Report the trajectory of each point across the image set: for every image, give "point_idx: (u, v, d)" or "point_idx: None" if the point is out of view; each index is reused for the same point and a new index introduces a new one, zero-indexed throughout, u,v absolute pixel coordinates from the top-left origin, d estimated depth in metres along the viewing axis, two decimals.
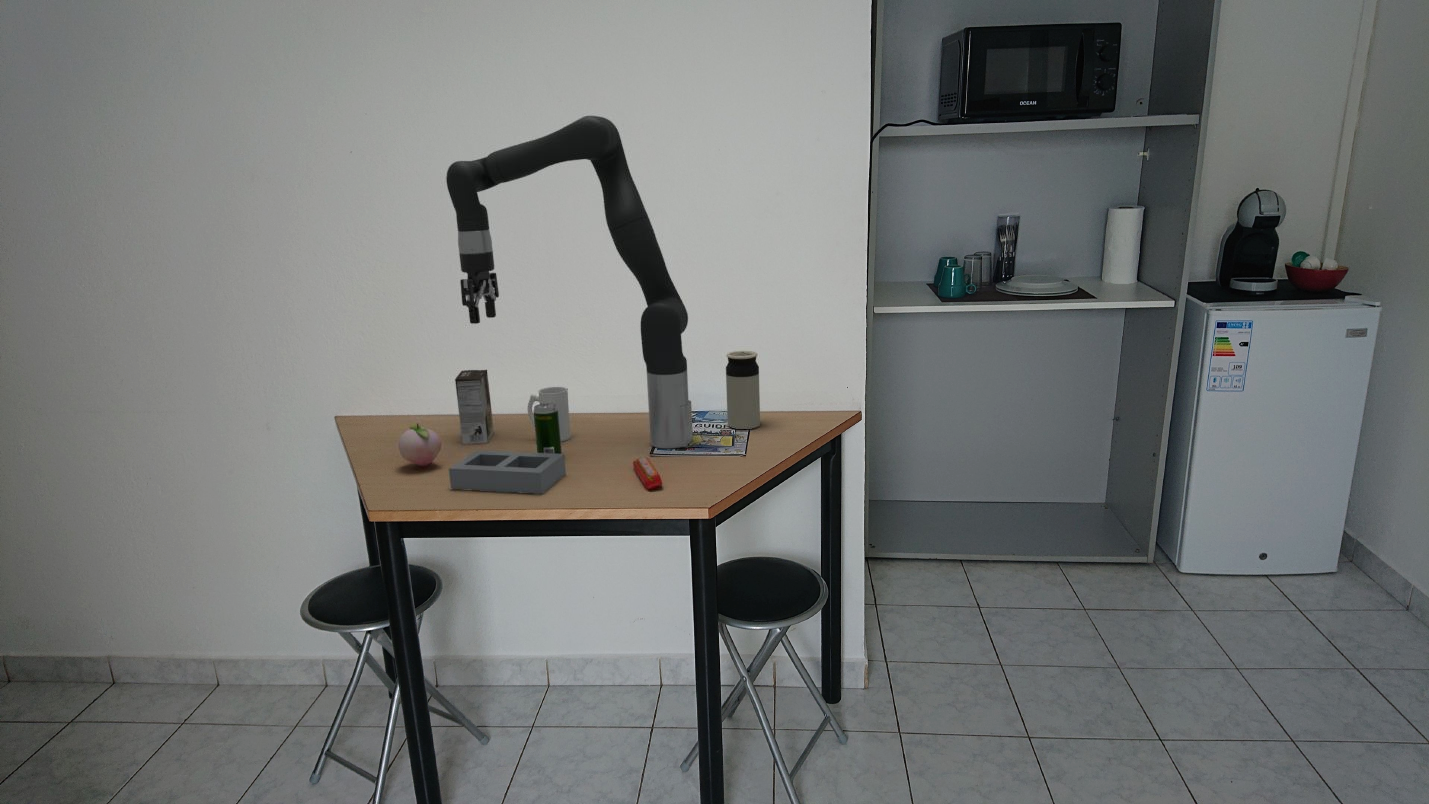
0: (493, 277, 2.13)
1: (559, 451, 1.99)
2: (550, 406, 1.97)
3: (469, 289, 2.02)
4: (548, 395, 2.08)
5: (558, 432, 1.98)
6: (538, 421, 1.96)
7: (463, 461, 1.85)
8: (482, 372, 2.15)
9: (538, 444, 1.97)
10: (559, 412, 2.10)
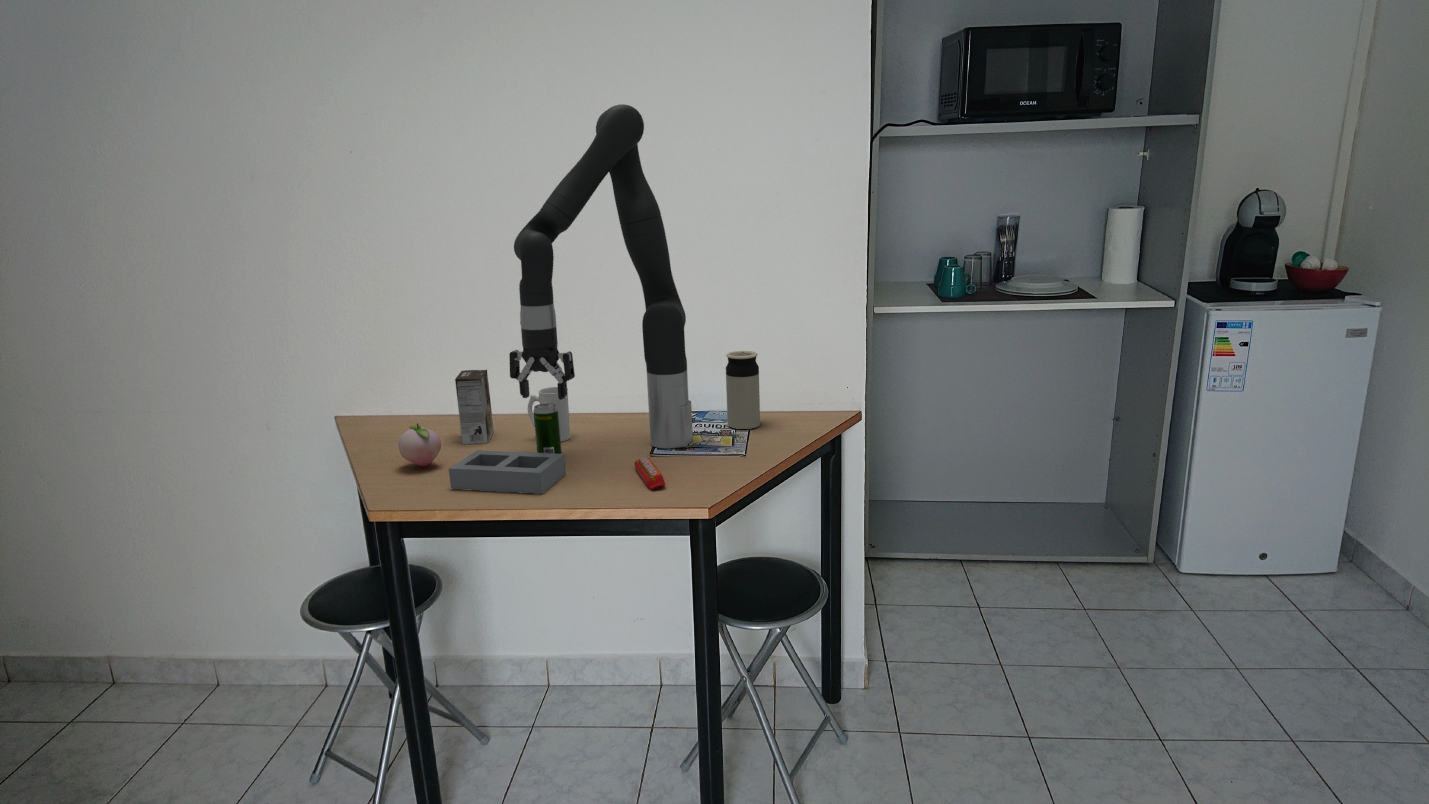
0: None
1: (559, 451, 1.99)
2: (550, 406, 1.97)
3: (572, 361, 1.94)
4: (548, 395, 2.08)
5: (558, 432, 1.98)
6: (538, 421, 1.96)
7: (463, 461, 1.85)
8: (482, 372, 2.15)
9: (538, 444, 1.97)
10: (559, 412, 2.10)
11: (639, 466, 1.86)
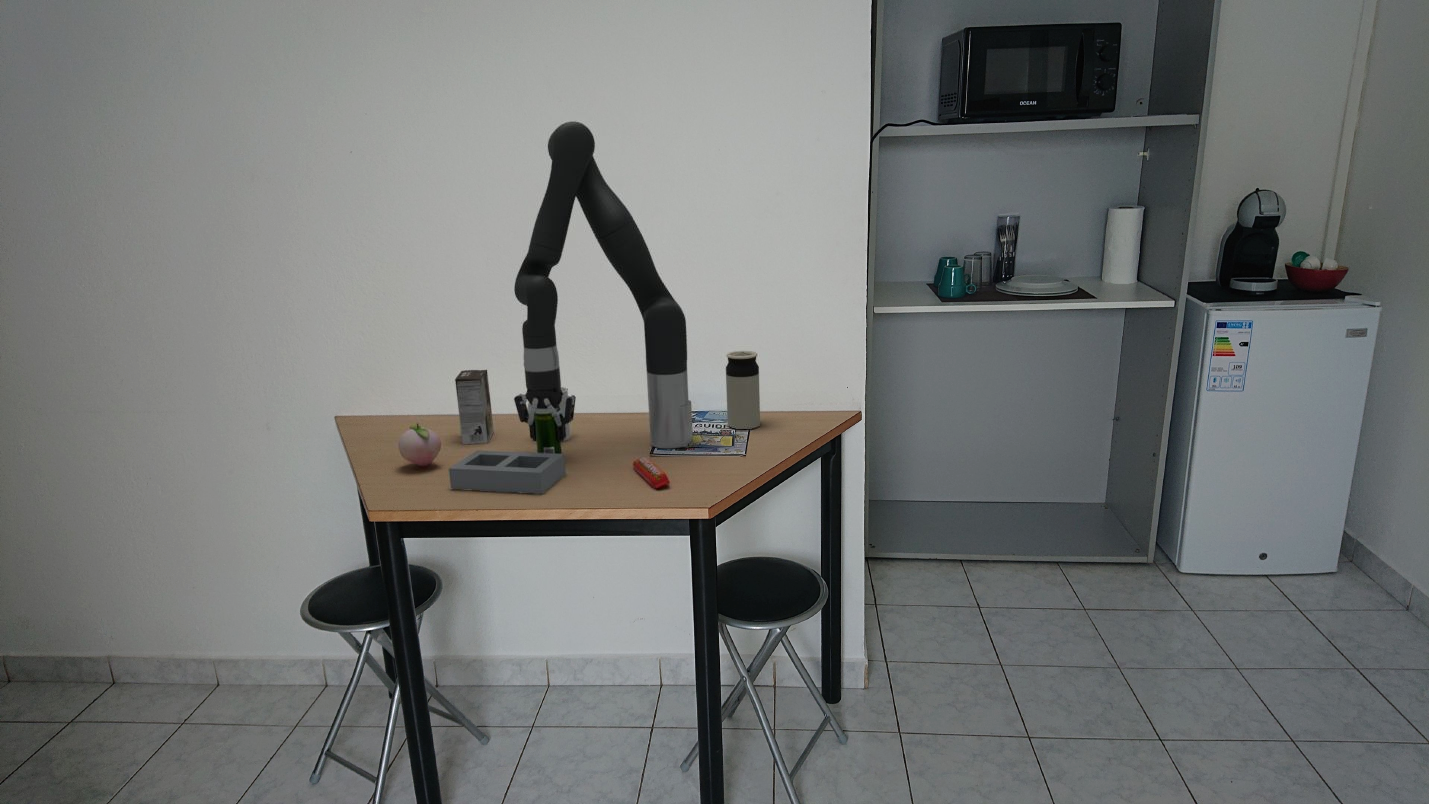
0: None
1: (559, 451, 1.99)
2: None
3: (574, 405, 1.97)
4: None
5: None
6: (538, 421, 1.96)
7: (463, 461, 1.85)
8: (482, 372, 2.15)
9: (538, 444, 1.97)
10: None
11: (640, 466, 1.86)
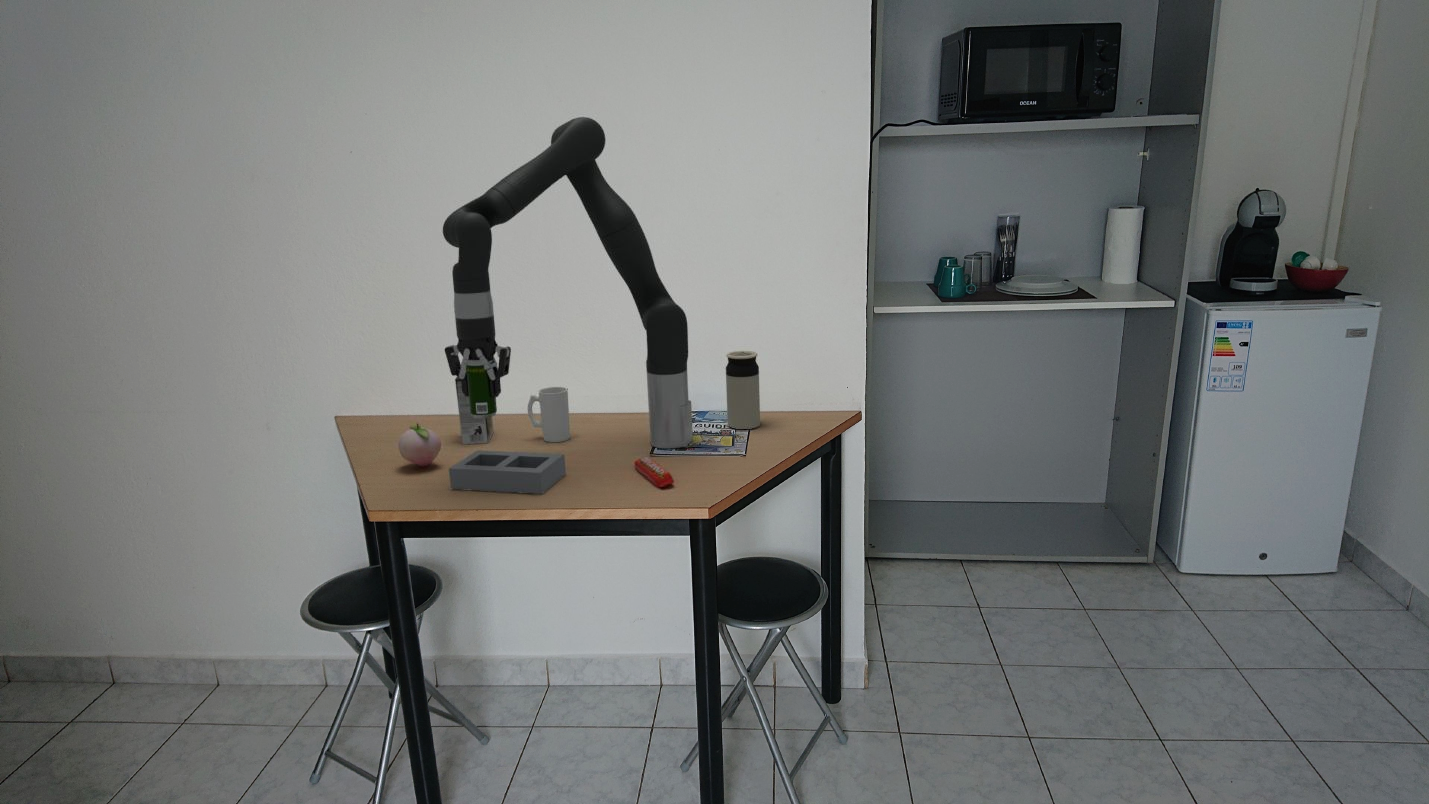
0: None
1: (493, 407, 1.83)
2: None
3: (509, 358, 1.80)
4: (548, 395, 2.08)
5: None
6: (470, 374, 1.80)
7: (463, 461, 1.85)
8: None
9: (470, 399, 1.82)
10: (559, 412, 2.10)
11: (642, 466, 1.86)
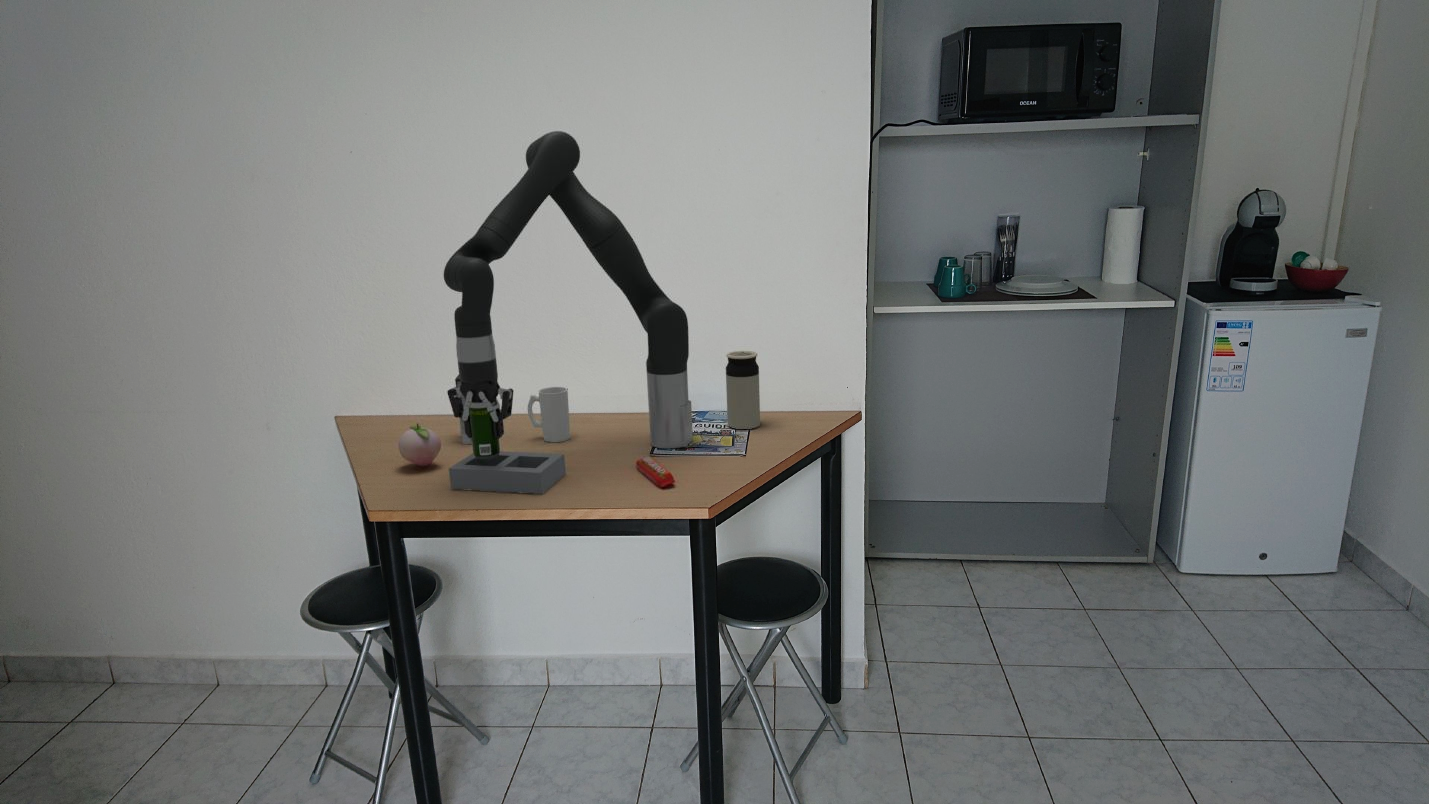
0: None
1: (496, 449, 1.84)
2: None
3: (512, 400, 1.82)
4: (548, 395, 2.08)
5: None
6: (473, 416, 1.81)
7: (463, 461, 1.85)
8: None
9: (473, 441, 1.83)
10: (559, 412, 2.10)
11: (643, 465, 1.86)
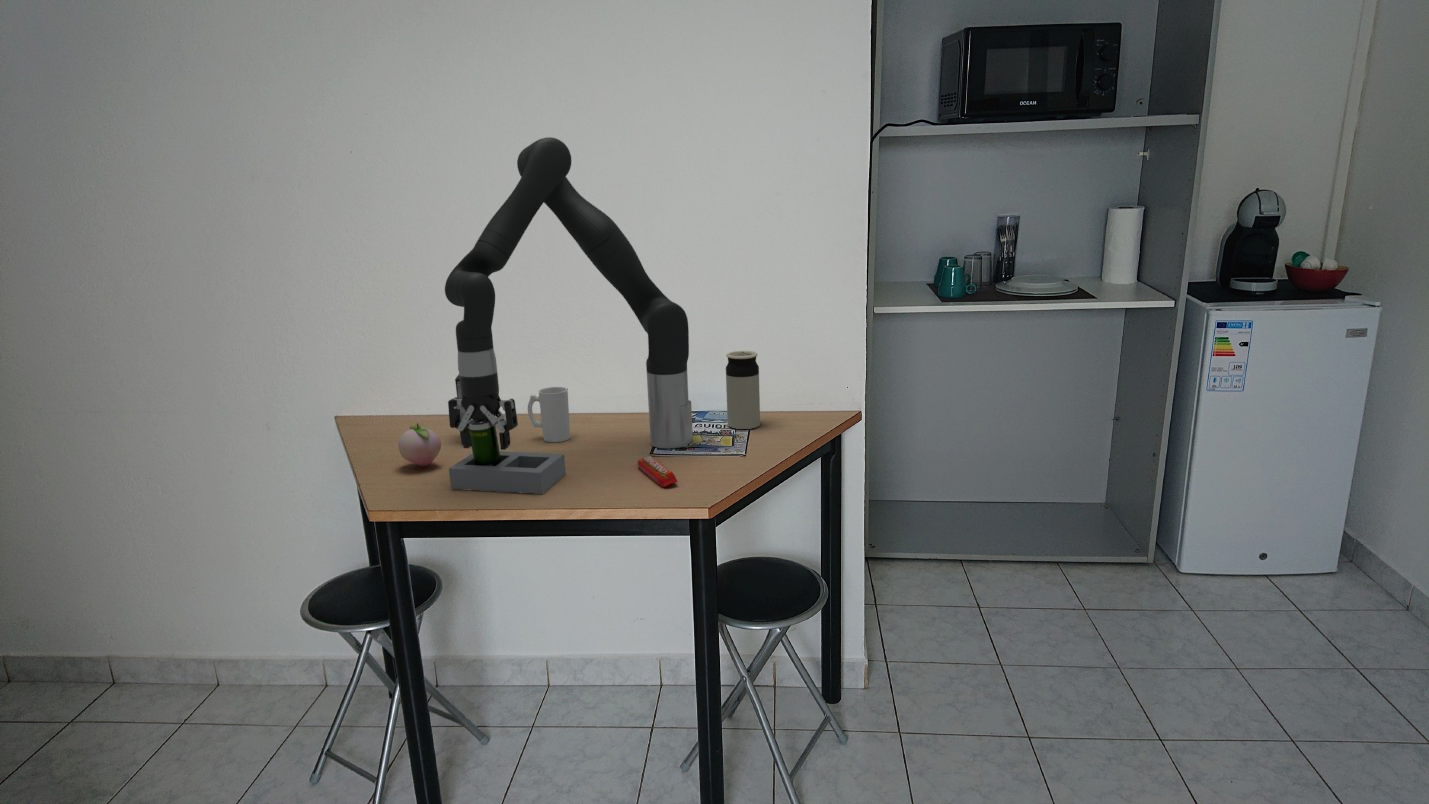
0: None
1: None
2: (486, 421, 1.82)
3: (515, 409, 1.82)
4: (548, 395, 2.08)
5: (496, 448, 1.84)
6: (474, 438, 1.81)
7: (463, 461, 1.85)
8: None
9: (475, 462, 1.84)
10: (559, 412, 2.10)
11: (645, 465, 1.86)
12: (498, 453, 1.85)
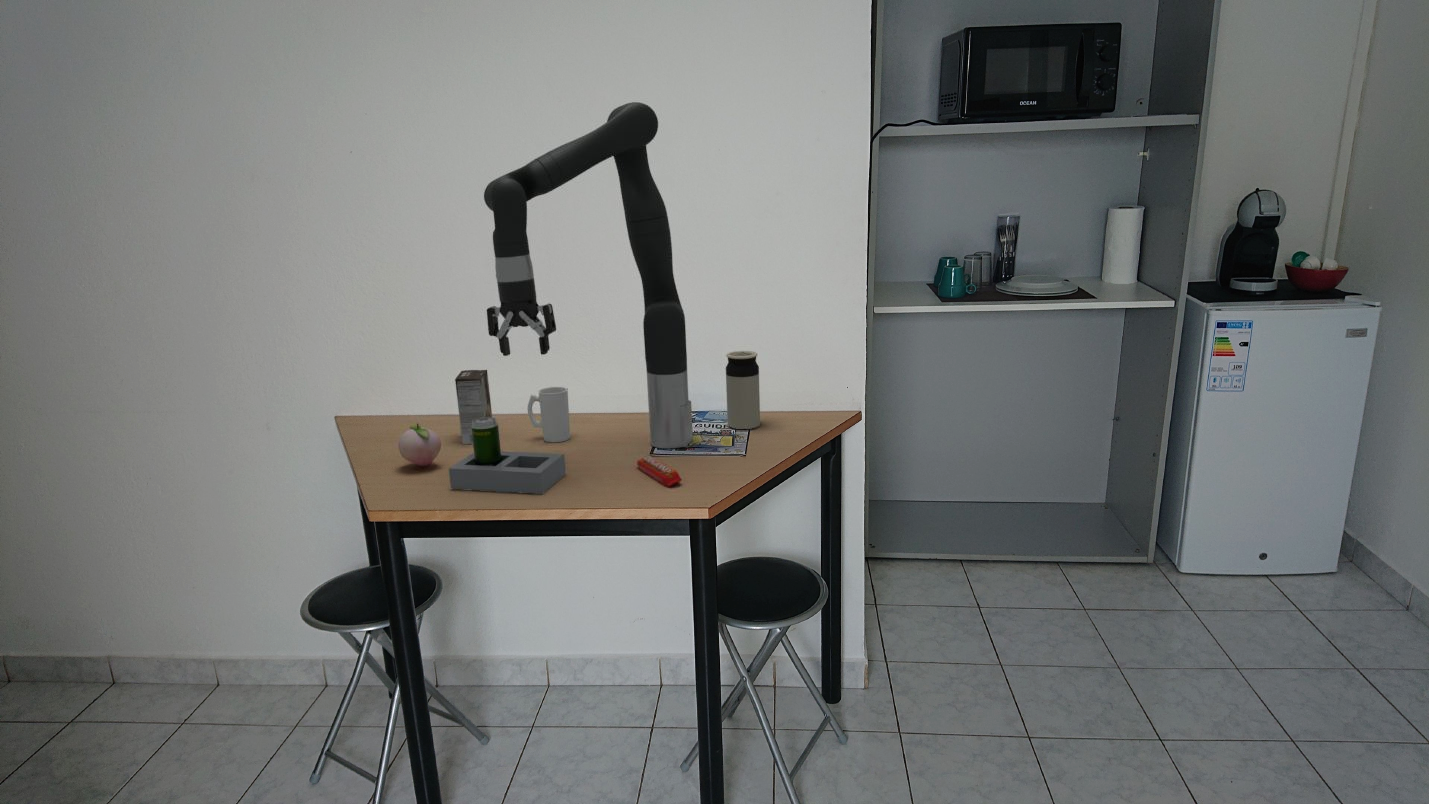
0: None
1: None
2: (489, 421, 1.83)
3: (553, 314, 1.86)
4: (548, 395, 2.08)
5: (498, 448, 1.84)
6: (476, 437, 1.82)
7: (463, 461, 1.85)
8: (482, 372, 2.15)
9: (476, 461, 1.84)
10: (559, 412, 2.10)
11: (646, 465, 1.86)
12: (499, 454, 1.85)
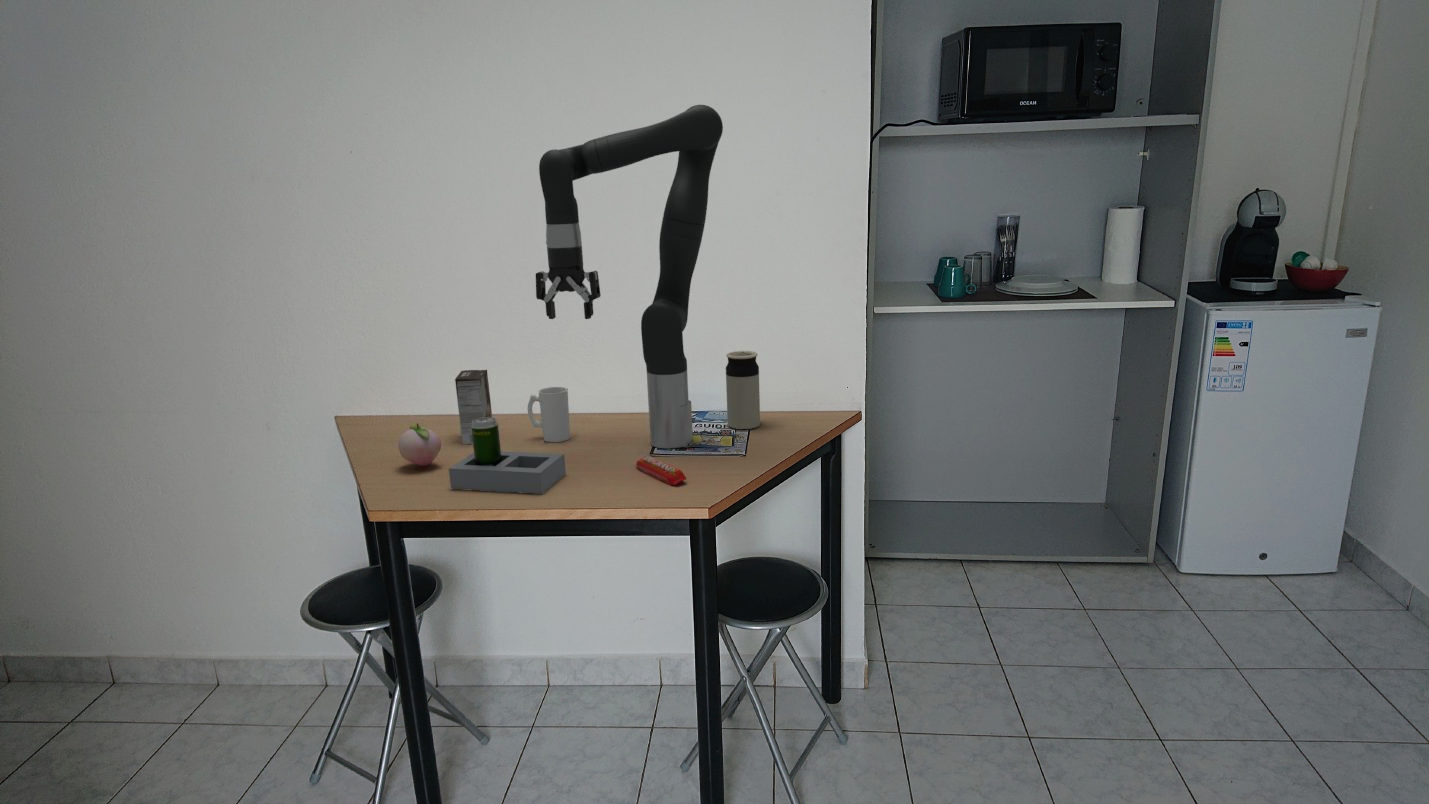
0: None
1: None
2: (489, 420, 1.83)
3: (598, 281, 1.96)
4: (548, 395, 2.08)
5: (498, 448, 1.84)
6: (476, 437, 1.82)
7: (463, 461, 1.85)
8: (482, 372, 2.15)
9: (476, 461, 1.84)
10: (559, 412, 2.10)
11: (648, 465, 1.86)
12: (499, 454, 1.85)
